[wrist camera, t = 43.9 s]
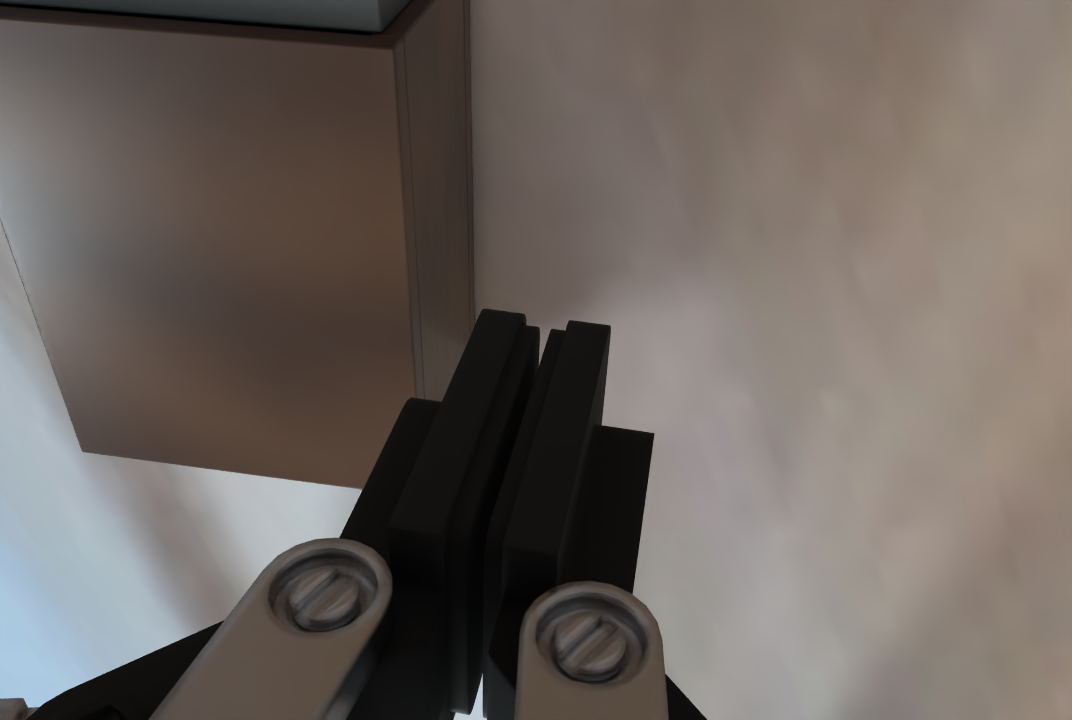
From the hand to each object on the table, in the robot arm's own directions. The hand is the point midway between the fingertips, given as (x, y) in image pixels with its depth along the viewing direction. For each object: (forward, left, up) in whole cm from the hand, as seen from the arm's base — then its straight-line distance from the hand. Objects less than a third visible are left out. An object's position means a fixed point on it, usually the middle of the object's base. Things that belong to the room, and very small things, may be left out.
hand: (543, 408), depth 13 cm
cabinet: (+14, +2, -22) cm, 26 cm away
